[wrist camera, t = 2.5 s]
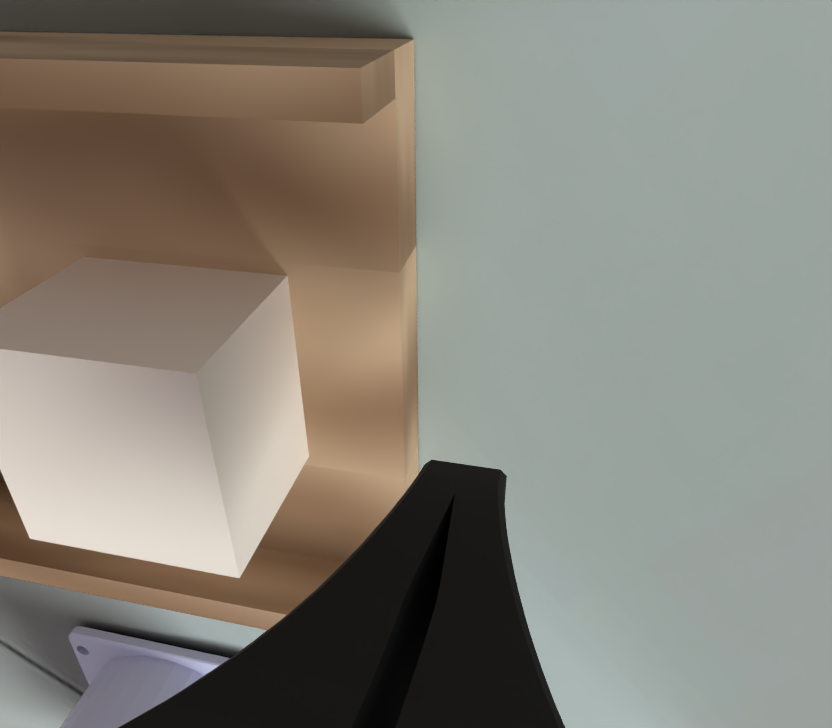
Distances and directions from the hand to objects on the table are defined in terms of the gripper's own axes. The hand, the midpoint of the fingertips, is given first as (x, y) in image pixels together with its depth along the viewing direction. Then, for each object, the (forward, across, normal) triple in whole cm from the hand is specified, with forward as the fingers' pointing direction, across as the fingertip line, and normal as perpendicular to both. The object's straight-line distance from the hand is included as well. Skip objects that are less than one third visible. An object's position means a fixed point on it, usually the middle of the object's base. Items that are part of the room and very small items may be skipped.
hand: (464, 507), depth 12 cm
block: (+4, +7, 0) cm, 8 cm away
